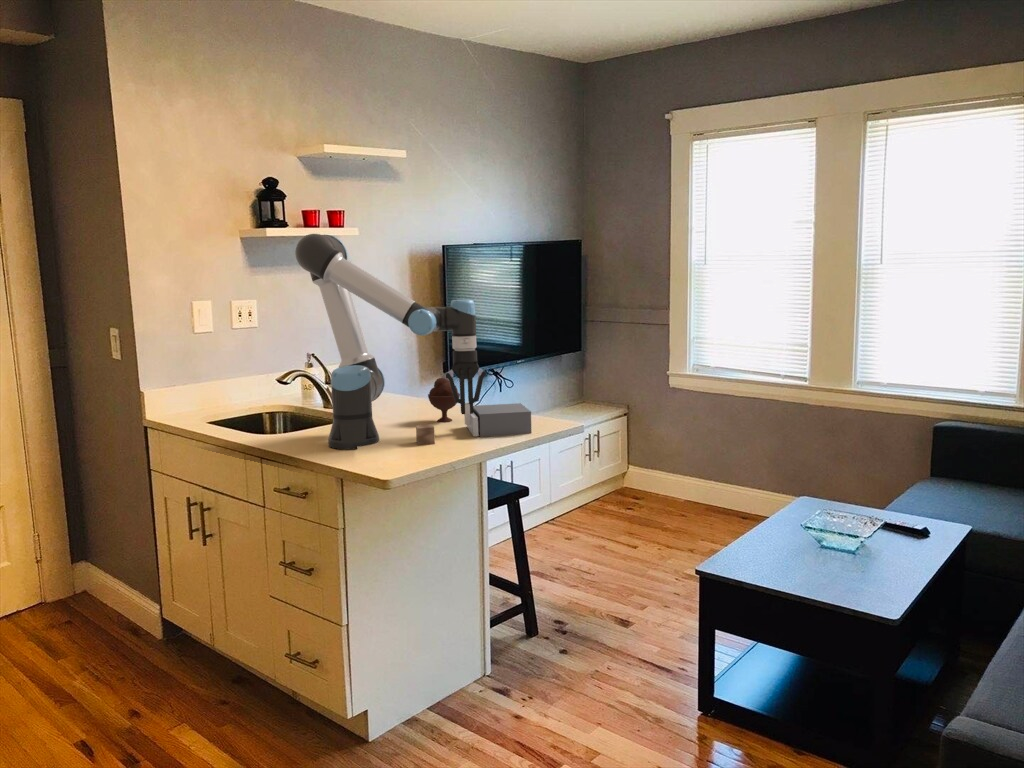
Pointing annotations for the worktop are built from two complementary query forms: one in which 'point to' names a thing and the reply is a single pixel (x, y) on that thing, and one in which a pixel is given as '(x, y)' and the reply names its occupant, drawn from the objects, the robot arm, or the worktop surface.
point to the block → (425, 434)
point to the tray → (474, 425)
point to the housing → (503, 419)
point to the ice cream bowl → (442, 398)
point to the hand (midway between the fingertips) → (467, 424)
